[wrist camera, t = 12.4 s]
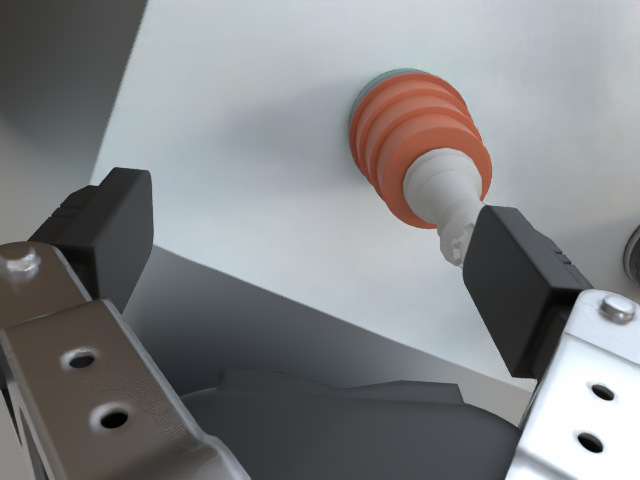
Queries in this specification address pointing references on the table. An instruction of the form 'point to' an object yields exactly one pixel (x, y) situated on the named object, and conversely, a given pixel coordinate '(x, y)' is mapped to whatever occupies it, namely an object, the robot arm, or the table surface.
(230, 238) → the table surface
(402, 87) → the cup stack
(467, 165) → the rook chess piece
